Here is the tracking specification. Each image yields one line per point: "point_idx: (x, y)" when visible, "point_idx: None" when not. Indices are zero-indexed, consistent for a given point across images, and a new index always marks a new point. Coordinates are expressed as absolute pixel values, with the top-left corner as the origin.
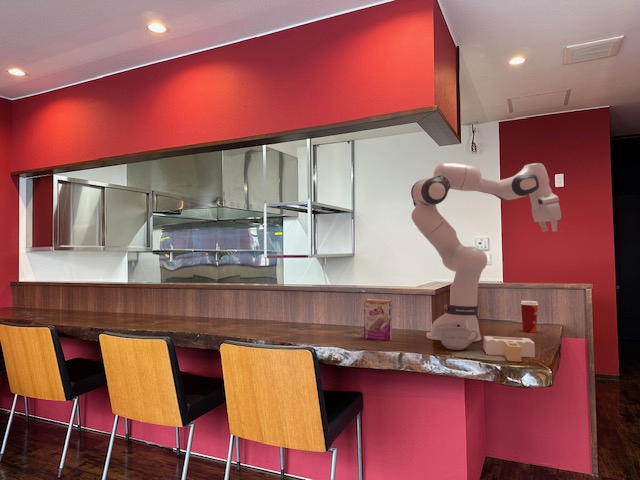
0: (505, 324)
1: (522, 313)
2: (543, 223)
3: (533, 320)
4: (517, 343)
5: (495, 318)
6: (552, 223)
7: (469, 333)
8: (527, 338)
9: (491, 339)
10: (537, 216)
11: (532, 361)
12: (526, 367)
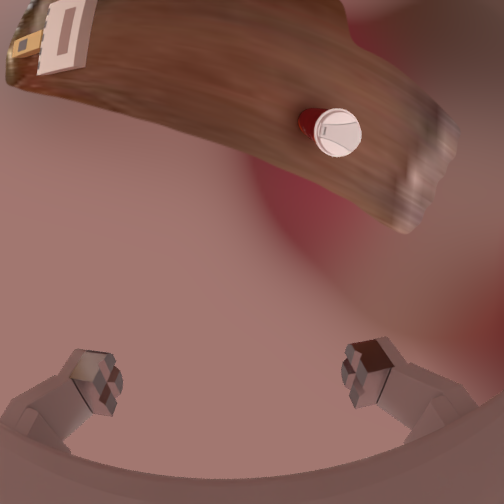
0: (395, 110)
1: (325, 109)
2: (414, 425)
3: (304, 128)
4: (30, 50)
5: (452, 129)
6: (12, 403)
7: None
8: (71, 63)
9: (58, 8)
10: (492, 499)
11: (30, 71)
12: (6, 66)
